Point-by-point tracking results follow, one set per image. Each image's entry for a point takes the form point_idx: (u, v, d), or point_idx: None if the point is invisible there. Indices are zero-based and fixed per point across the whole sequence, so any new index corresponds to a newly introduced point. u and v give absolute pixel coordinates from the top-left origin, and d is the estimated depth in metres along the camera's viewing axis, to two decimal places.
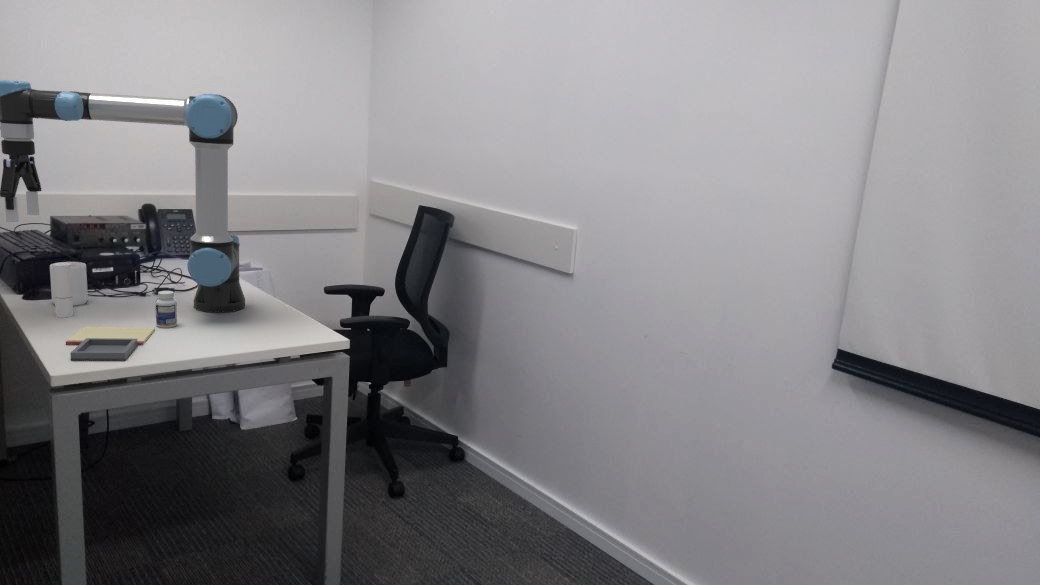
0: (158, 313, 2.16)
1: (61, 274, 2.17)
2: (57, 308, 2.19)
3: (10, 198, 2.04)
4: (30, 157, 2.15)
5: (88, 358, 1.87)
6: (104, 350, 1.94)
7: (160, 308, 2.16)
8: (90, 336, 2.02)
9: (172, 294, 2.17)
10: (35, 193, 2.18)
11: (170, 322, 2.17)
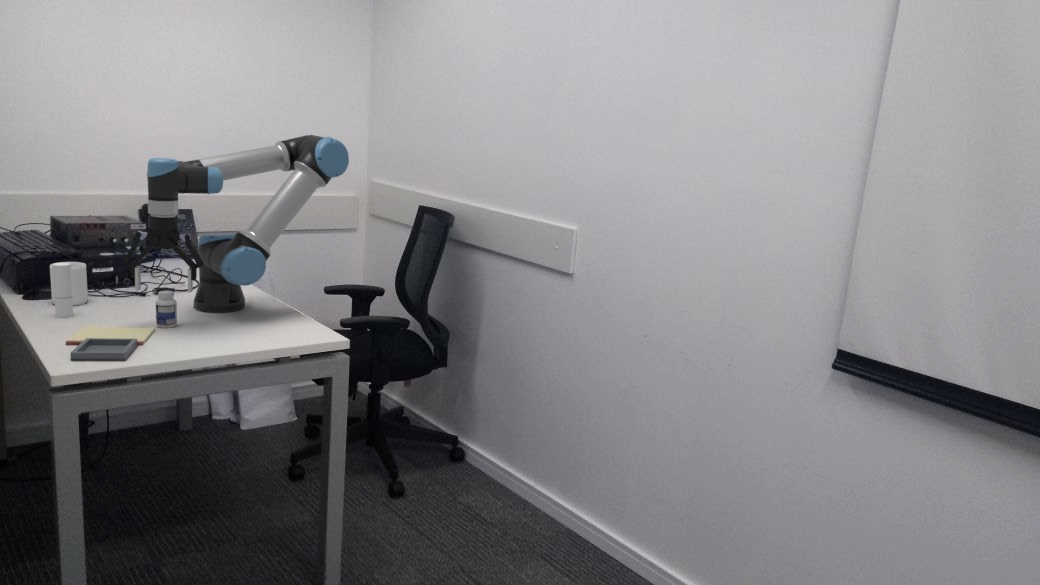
0: (158, 313, 2.16)
1: (61, 274, 2.17)
2: (57, 308, 2.19)
3: (131, 267, 2.13)
4: (185, 235, 2.14)
5: (88, 358, 1.87)
6: (104, 350, 1.94)
7: (160, 308, 2.16)
8: (90, 336, 2.02)
9: (172, 294, 2.17)
10: (188, 270, 2.16)
11: (170, 322, 2.17)
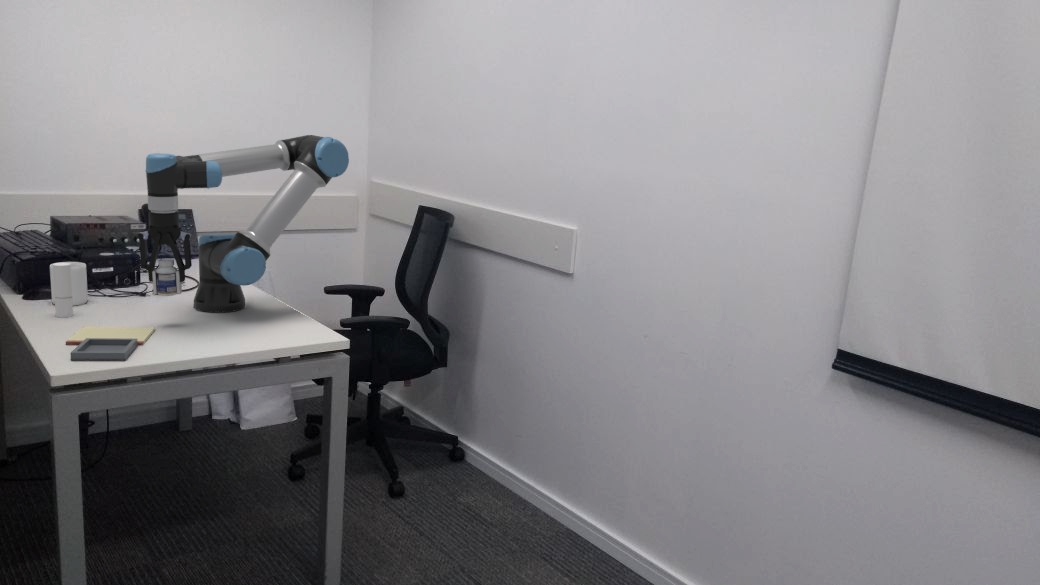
0: (159, 281, 2.15)
1: (61, 274, 2.17)
2: (57, 308, 2.19)
3: (148, 271, 2.15)
4: (186, 234, 2.14)
5: (88, 358, 1.87)
6: (104, 350, 1.94)
7: (161, 276, 2.14)
8: (90, 336, 2.02)
9: (172, 262, 2.15)
10: None
11: (171, 290, 2.16)
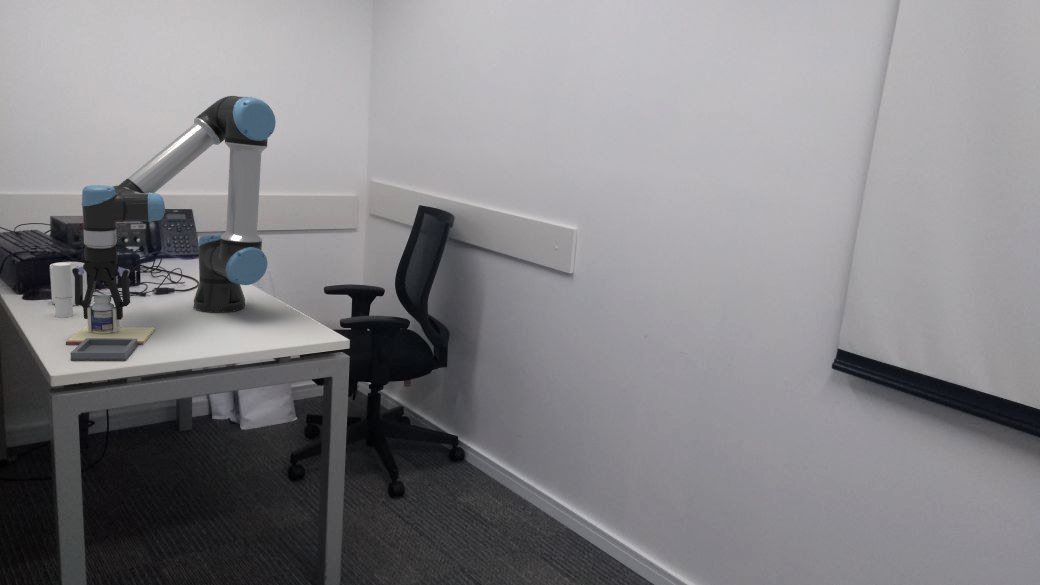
0: (94, 318, 2.04)
1: (61, 274, 2.17)
2: (57, 308, 2.19)
3: (83, 307, 2.04)
4: (124, 270, 2.04)
5: (88, 358, 1.87)
6: (104, 350, 1.94)
7: (96, 313, 2.03)
8: (90, 336, 2.02)
9: (109, 298, 2.05)
10: None
11: (106, 328, 2.05)
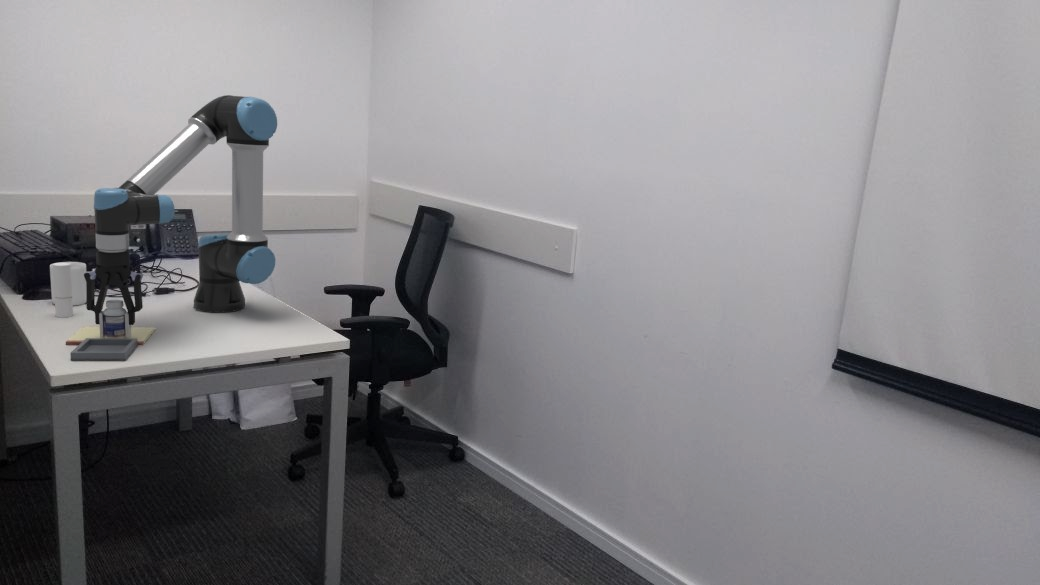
0: (106, 323, 2.00)
1: (61, 274, 2.17)
2: (57, 308, 2.19)
3: (95, 312, 2.00)
4: (137, 274, 2.00)
5: (88, 358, 1.87)
6: (104, 350, 1.94)
7: (108, 318, 2.00)
8: (90, 336, 2.02)
9: (121, 303, 2.01)
10: None
11: (118, 334, 2.01)
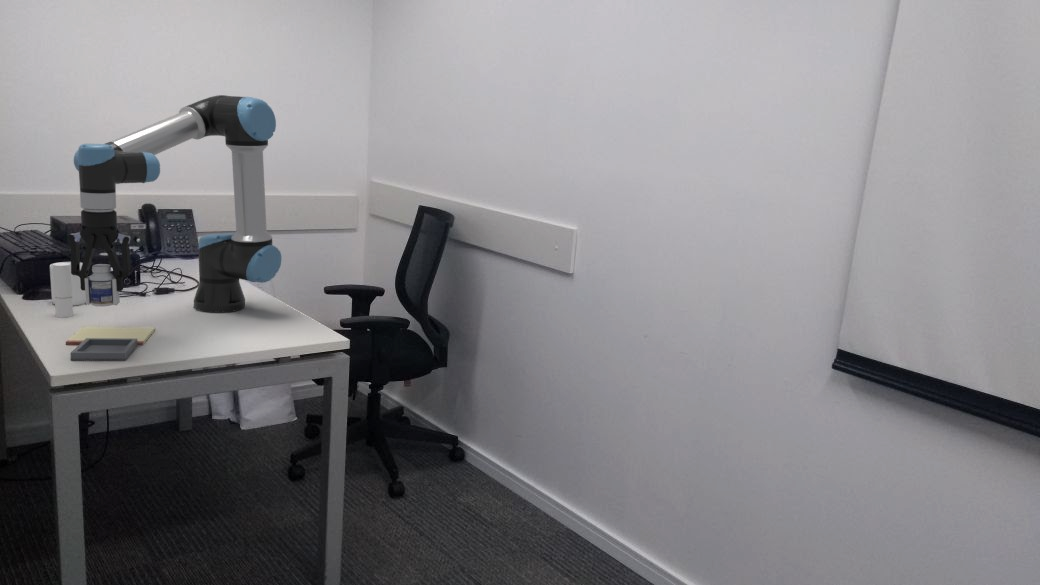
0: (92, 289, 1.87)
1: (61, 274, 2.17)
2: (57, 308, 2.19)
3: (80, 278, 1.88)
4: (125, 236, 1.87)
5: (88, 358, 1.87)
6: (104, 350, 1.94)
7: (94, 284, 1.87)
8: (90, 336, 2.02)
9: (108, 268, 1.88)
10: None
11: (105, 300, 1.88)
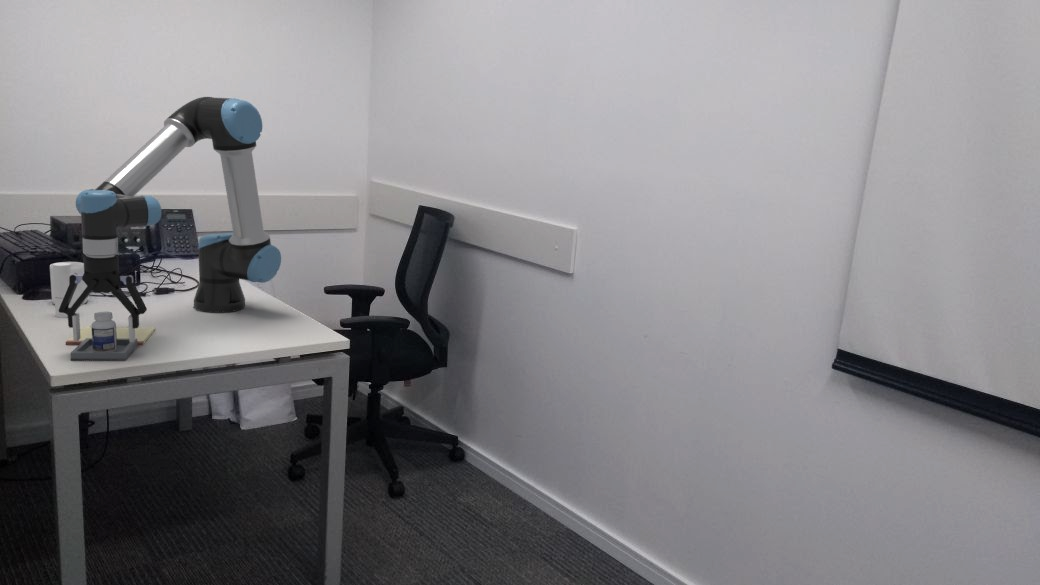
0: (94, 337, 1.90)
1: (61, 274, 2.17)
2: (57, 308, 2.19)
3: (68, 315, 1.89)
4: (127, 277, 1.90)
5: (88, 358, 1.87)
6: None
7: (97, 332, 1.89)
8: (90, 336, 2.02)
9: (110, 315, 1.91)
10: None
11: (108, 348, 1.91)
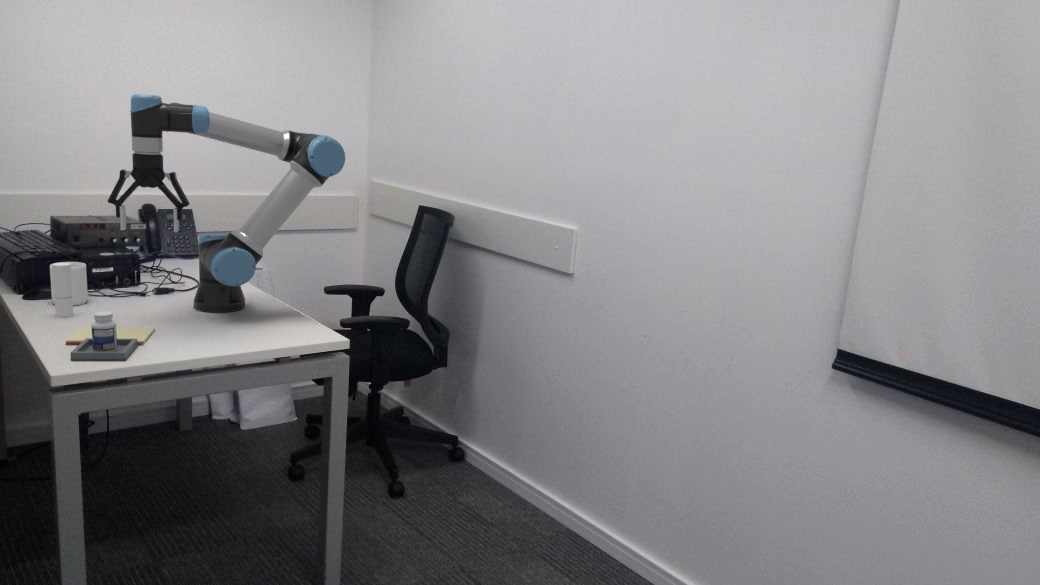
0: (94, 337, 1.90)
1: (61, 274, 2.17)
2: (57, 308, 2.19)
3: None
4: (170, 173, 2.12)
5: (88, 358, 1.87)
6: None
7: (97, 332, 1.89)
8: (90, 336, 2.02)
9: (110, 315, 1.91)
10: None
11: (108, 348, 1.91)
